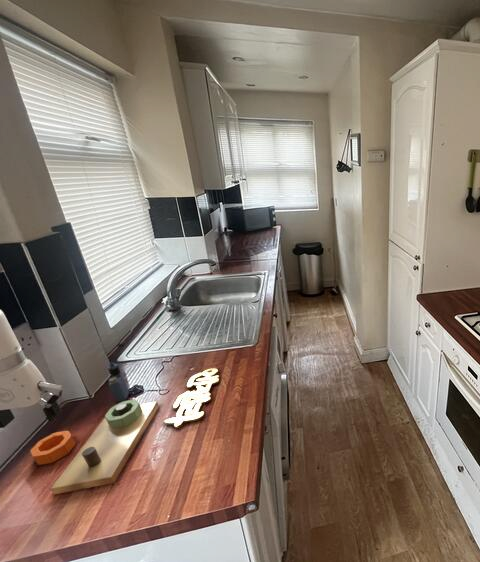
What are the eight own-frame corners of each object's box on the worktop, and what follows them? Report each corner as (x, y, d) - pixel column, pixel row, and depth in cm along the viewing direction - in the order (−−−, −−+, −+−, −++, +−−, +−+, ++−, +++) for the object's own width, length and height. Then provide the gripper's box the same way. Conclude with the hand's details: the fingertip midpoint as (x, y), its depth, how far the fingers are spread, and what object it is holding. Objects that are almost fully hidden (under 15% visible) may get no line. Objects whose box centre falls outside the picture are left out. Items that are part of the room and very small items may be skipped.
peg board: (53, 494, 69) (42, 476, 66) (114, 413, 90) (107, 397, 88) (114, 482, 71) (104, 464, 68) (159, 406, 93) (153, 390, 90)
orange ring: (28, 467, 75) (22, 458, 74) (50, 442, 82) (45, 434, 80) (62, 460, 76) (57, 452, 75) (81, 437, 83) (77, 428, 82)
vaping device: (130, 390, 99) (118, 360, 95) (125, 401, 95) (111, 370, 90) (121, 392, 98) (107, 362, 94) (115, 404, 94) (100, 372, 89)
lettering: (194, 372, 107) (193, 370, 106) (224, 368, 108) (224, 366, 108) (161, 430, 84) (160, 428, 84) (200, 424, 85) (199, 421, 85)
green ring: (103, 430, 82) (99, 422, 81) (118, 410, 89) (114, 402, 88) (133, 425, 84) (130, 417, 82) (146, 406, 90) (142, 398, 89)
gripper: (-68, 378, 63) (-27, 439, 69) (32, 367, 66) (62, 426, 73) (-32, 356, 70) (2, 414, 76) (58, 347, 73) (83, 403, 80)
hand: (32, 419), depth 74 cm, fingers open, 9 cm apart
